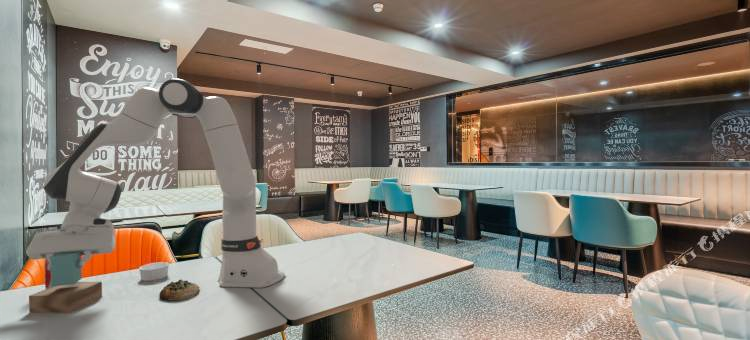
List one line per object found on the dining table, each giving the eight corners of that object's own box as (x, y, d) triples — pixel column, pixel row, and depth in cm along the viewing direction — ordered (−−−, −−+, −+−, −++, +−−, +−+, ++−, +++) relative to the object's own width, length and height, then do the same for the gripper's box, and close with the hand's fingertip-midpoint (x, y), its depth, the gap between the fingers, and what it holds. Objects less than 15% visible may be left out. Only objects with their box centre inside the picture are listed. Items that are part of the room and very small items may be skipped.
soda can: (56, 295, 106) (55, 256, 105) (39, 293, 107) (37, 255, 107) (80, 287, 113) (79, 250, 112) (63, 285, 114) (62, 249, 114)
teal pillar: (81, 278, 102) (81, 251, 102) (73, 284, 97) (73, 256, 97) (60, 280, 100) (59, 253, 100) (51, 286, 95) (50, 257, 95)
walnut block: (102, 297, 104) (101, 281, 104) (69, 313, 93) (68, 295, 93) (66, 298, 104) (66, 281, 104) (29, 313, 93) (28, 295, 93)
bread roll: (153, 294, 105) (156, 278, 106) (192, 290, 113) (194, 274, 114) (164, 306, 98) (167, 288, 98) (205, 300, 106) (207, 283, 106)
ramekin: (158, 282, 117) (158, 269, 117) (133, 282, 117) (132, 269, 117) (174, 273, 126) (174, 261, 126) (150, 273, 126) (150, 262, 126)
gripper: (32, 224, 101) (12, 266, 92) (116, 219, 108) (105, 258, 99) (41, 236, 105) (23, 277, 96) (121, 231, 113) (111, 269, 104)
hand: (65, 268), depth 98 cm, fingers closed on teal pillar, 5 cm apart
